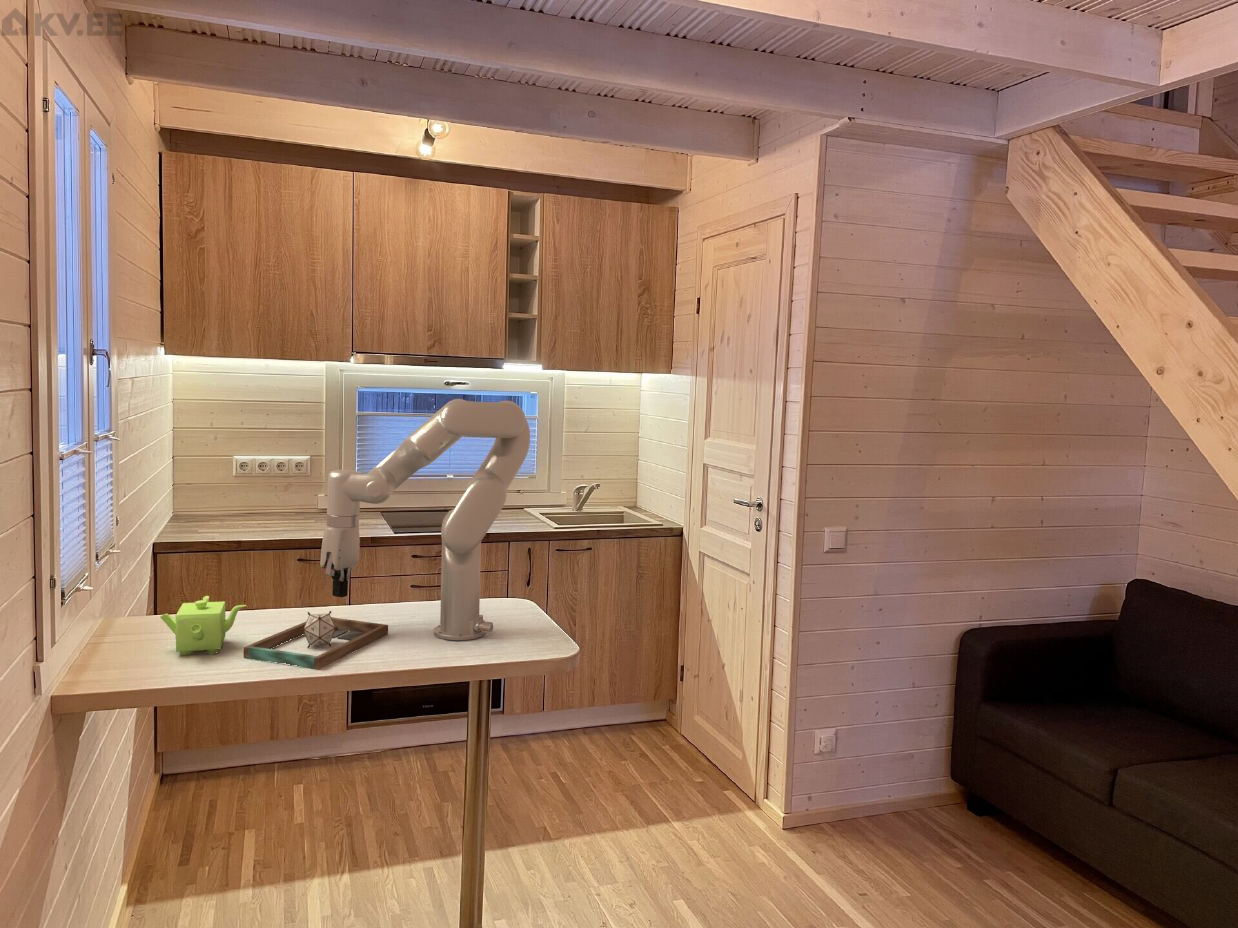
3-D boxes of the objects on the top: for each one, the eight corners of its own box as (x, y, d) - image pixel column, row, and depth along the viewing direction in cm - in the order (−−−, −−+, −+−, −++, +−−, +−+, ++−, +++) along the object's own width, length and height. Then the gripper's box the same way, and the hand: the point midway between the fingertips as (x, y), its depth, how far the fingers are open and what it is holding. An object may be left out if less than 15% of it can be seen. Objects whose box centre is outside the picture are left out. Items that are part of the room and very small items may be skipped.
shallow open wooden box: (388, 634, 223) (388, 624, 223) (318, 669, 197) (318, 658, 196) (320, 625, 229) (320, 615, 229) (243, 657, 202) (243, 646, 202)
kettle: (207, 635, 217) (206, 589, 216) (250, 645, 211) (250, 598, 210) (151, 652, 204) (150, 603, 202) (195, 663, 198) (195, 613, 196)
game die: (323, 663, 212) (323, 637, 205) (292, 647, 213) (291, 621, 206) (346, 636, 218) (347, 610, 212) (315, 621, 219) (315, 595, 213)
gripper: (347, 515, 227) (344, 587, 229) (310, 523, 213) (307, 600, 214) (373, 519, 225) (370, 591, 227) (338, 527, 210) (334, 605, 212)
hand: (339, 595), depth 221 cm, fingers closed
